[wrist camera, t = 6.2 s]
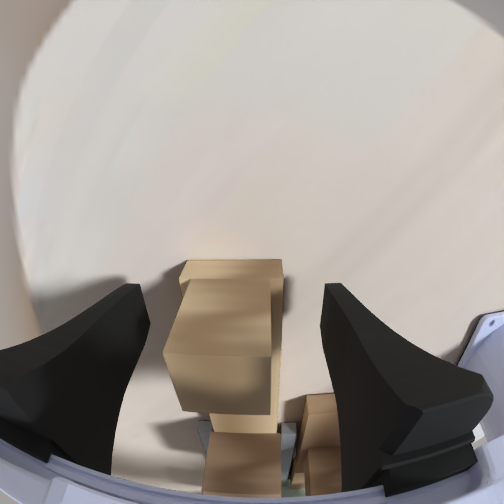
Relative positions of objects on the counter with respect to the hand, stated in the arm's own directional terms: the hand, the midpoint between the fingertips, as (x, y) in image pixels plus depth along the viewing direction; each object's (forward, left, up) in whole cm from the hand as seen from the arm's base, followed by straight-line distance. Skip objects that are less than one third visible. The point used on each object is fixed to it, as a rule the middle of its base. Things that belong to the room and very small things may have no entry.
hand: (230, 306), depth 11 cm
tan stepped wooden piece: (0, +7, -2) cm, 7 cm away
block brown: (-6, +13, -2) cm, 14 cm away
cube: (0, +13, 0) cm, 13 cm away
